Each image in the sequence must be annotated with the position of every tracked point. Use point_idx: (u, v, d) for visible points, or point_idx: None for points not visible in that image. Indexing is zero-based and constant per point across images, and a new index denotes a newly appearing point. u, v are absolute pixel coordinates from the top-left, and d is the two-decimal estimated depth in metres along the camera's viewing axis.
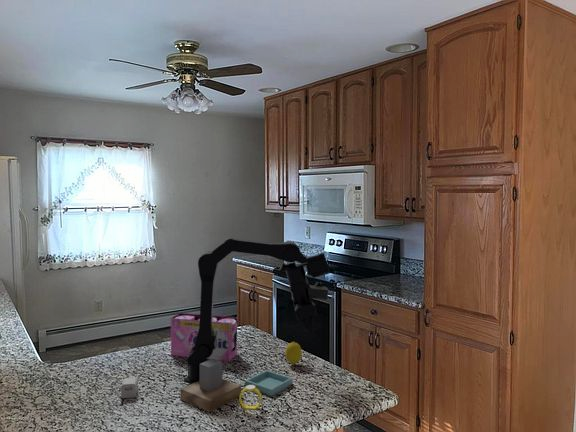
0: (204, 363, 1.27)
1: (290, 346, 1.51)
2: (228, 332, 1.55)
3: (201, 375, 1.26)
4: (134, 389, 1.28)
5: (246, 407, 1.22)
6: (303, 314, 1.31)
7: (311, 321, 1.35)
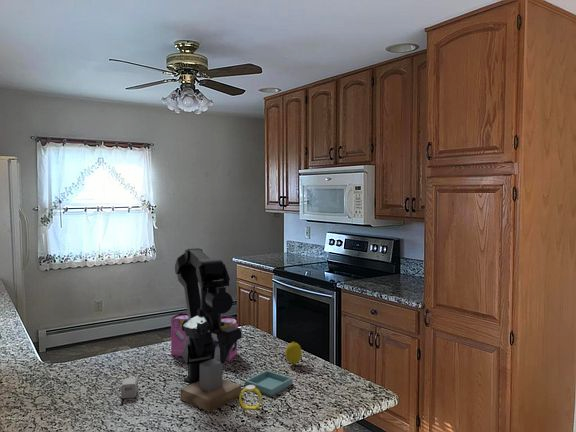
0: (204, 363, 1.27)
1: (290, 346, 1.51)
2: None
3: (201, 375, 1.26)
4: (134, 389, 1.28)
5: (246, 407, 1.22)
6: None
7: None
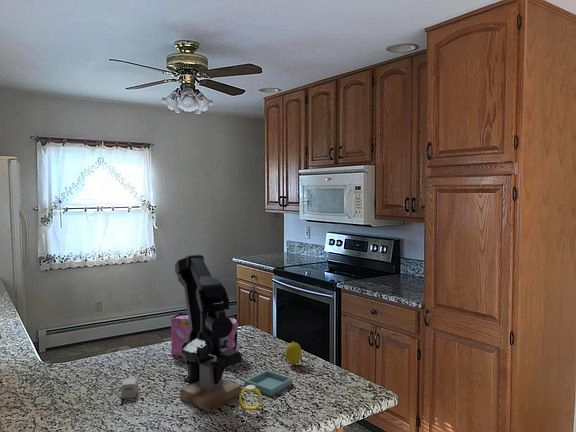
0: (204, 363, 1.27)
1: (290, 346, 1.51)
2: None
3: (201, 375, 1.26)
4: (134, 389, 1.28)
5: (246, 407, 1.22)
6: None
7: None
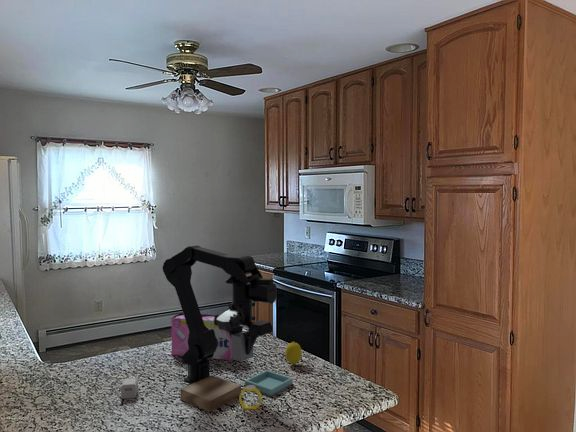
0: (236, 334, 1.31)
1: (290, 346, 1.51)
2: None
3: (233, 345, 1.30)
4: (134, 389, 1.28)
5: (246, 407, 1.22)
6: None
7: None
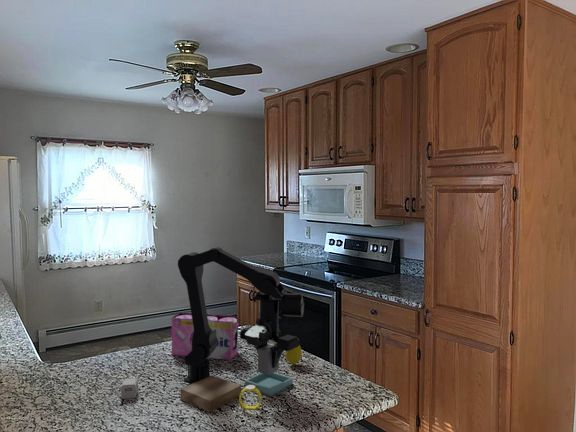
0: (262, 348, 1.35)
1: None
2: (229, 330, 1.57)
3: (259, 359, 1.34)
4: (134, 390, 1.27)
5: (246, 407, 1.22)
6: None
7: None
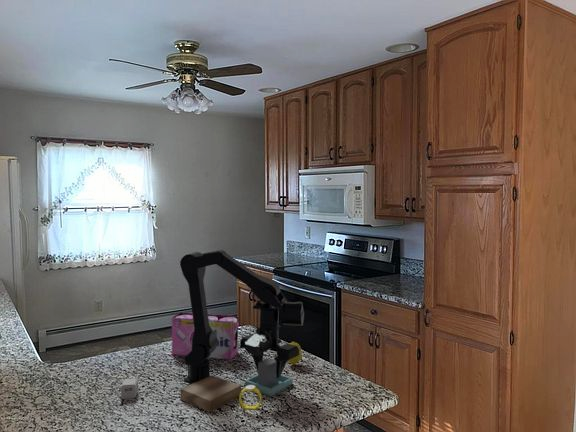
0: (262, 362, 1.35)
1: None
2: (230, 330, 1.57)
3: (259, 373, 1.34)
4: (134, 390, 1.27)
5: (246, 407, 1.22)
6: None
7: None
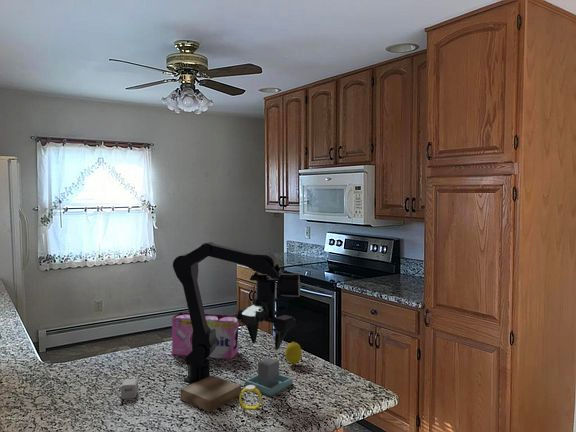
0: (262, 362, 1.35)
1: (290, 346, 1.51)
2: (230, 330, 1.57)
3: (259, 373, 1.34)
4: (134, 390, 1.27)
5: (246, 407, 1.22)
6: None
7: None
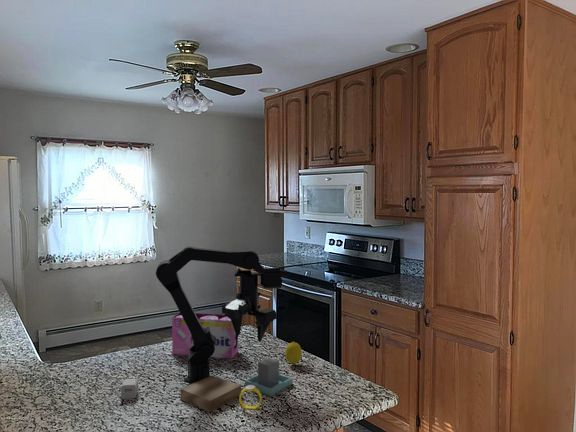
0: (262, 362, 1.35)
1: (290, 346, 1.51)
2: (230, 330, 1.58)
3: (259, 373, 1.34)
4: (134, 390, 1.27)
5: (246, 407, 1.22)
6: None
7: None
